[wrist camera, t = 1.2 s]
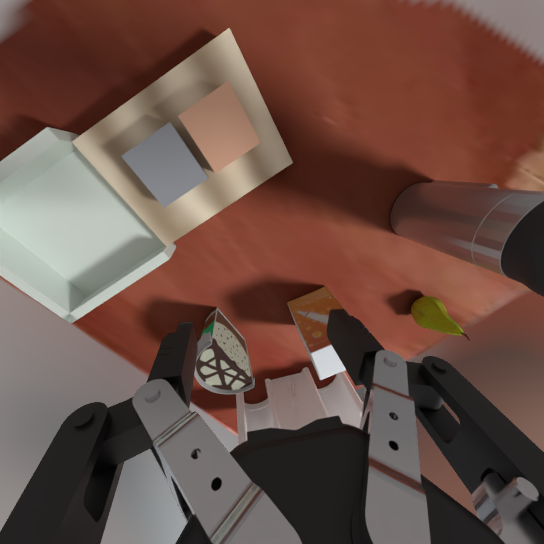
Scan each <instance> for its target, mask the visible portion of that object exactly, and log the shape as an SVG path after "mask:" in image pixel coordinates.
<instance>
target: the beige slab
mask: <svg viewBox="0 0 544 544" xmlns="http://www.w3.org/2000/svg"><path fill="white" fill-rule="evenodd" d="M227 81H229V82H230V84H231V86H232V88H233V90H234V92H235V94H236V96H237V97H238V99H239V101H240V103H241V105H242V107H243V109H244V111H245V113H246V115H247V117H248V119H249V121H250V123H251V124H252V126H253V128H254V130H255V132H256V134H257V136H258V138H259V140H260V142H261V143H259V144H258V145H257V146H255V147H254V148H252V149H251V150H249V151H248V152H246V153H245V154H243V155H242V156H240V157H239V158H237V159H236V160H234V161H233V162H231V163H230V164H228V165H227V166H225V167H224V168H223V169H221V170H220V171H218V172H217V173H215V172H214V170H213V169H212V167H211V166H210V164H209V163H208V161H207V160H206V158H205V157H204V155H203V153H202V152H201V150H200V149H199V147H198V146H197V144H196V143H195V141H194V140H193V138H192V137H191V135H190V134H189V132H188V131H187V129H186V128H185V126H184V124H183V123H182V121H181V120H180V118H179V117H178V116H179V115H180V114H182V113H183V112H185V111H186V110H187V109H189V108H190V107H192V106H193V105H194V104H196V103H197V102H199V101H200V100H202V99H203V98H204V97H206V96H207V95H209V94H210V93H212V92H213V91H214V90H216V89H217V88H219V87H220V86H221V85H223V84H224V83H226V82H227ZM169 122H170V123H172V124H173V125H174V126H175V127H176V128H177V130H178V131H179V133H180V134H181V136H182V137H183V139H184V140H185V142H186V143H187V145H188V146H189V148H190V149H191V151H192V152H193V154H194V155H195V157H196V158H197V160H198V161H199V163H200V164H201V166H202V167H203V168H204V170H205V171H206V173H207V174H208V176H209V178H208V179H206V180H205V181H203V182H202V183H200V184H199V185H197V186H196V187H194V188H193V189H191V190H190V191H189V192H187V193H186V194H184V195H183V196H181V197H180V198H178V199H177V200H175V201H174V202H172V203H171V204H169V205H168V206H166V207H165V208H164V207H163V206H162V205H161V204H160V202H159V201H158V200H157V199H156V198H155V196H154V195H153V194H152V193H151V192H150V190H149V189H148V188H147V187H146V186H145V184H144V183H143V182H142V181H141V180H140V178H139V177H138V176H137V175H136V174H135V172H134V171H133V170H132V169H131V168H130V166H129V165H128V164H127V163H126V161H125V160H124V159H123V158H122V157H121V156H122V155H124V154H125V153H126V152H128V151H129V150H131V149H132V148H133V147H135V146H136V145H138V144H139V143H141V142H142V141H143V140H145V139H146V138H148V137H149V136H151V135H152V134H153V133H155V132H156V131H158V130H159V129H160V128H162V127H163V126H165V125H166V124H168V123H169ZM72 143H73V144H74V145H75V146H76V147H77V149H78V150H79V151H80V152H81V153H82V154H83V155H84V156H85V157H86V158H87V160H88V161H89V162H90V163H91V164H92V165H93V166H94V167H95V168H96V169H97V171H98V172H99V173H100V174H101V175H102V176H103V177H104V178H105V179H106V180H107V182H108V183H109V184H110V185H111V186H112V187H113V188H114V189H115V190H116V191H117V193H118V194H119V195H120V196H121V197H122V198H123V199H124V200H125V201H126V202H127V204H128V205H129V206H130V207H131V208H132V209H133V210H134V211H135V212H136V213H137V215H138V216H139V217H140V218H141V219H142V220H143V221H144V222H145V223H146V224H147V226H148V227H149V228H150V229H151V230H152V231H153V232H154V233H155V234H156V235H157V237H158V238H159V239H160V240H161V241H162V242H163V243H164V244H165V245H166V246H168V245H170V244H171V243H173V242H174V241H176V240H177V239H179V238H180V237H182V236H183V235H185V234H186V233H188V232H189V231H191V230H192V229H194V228H195V227H197V226H198V225H200V224H201V223H203V222H204V221H206V220H207V219H209V218H210V217H212V216H213V215H215V214H216V213H218V212H219V211H221V210H222V209H224V208H225V207H227V206H229V205H230V204H232V203H233V202H235V201H236V200H238V199H239V198H241V197H242V196H244V195H245V194H247V193H248V192H250V191H251V190H253V189H254V188H256V187H257V186H259V185H260V184H262V183H263V182H265V181H266V180H268V179H269V178H271V177H272V176H274V175H275V174H277V173H278V172H280V171H281V170H283V169H284V168H286V167H287V166H289V165H290V164H292V163H293V162H292V159H291V157H290V155H289V153H288V151H287V149H286V147H285V145H284V142H283V140H282V138H281V136H280V134H279V132H278V130H277V128H276V126H275V123H274V121H273V119H272V117H271V115H270V113H269V111H268V109H267V106H266V104H265V102H264V100H263V98H262V96H261V94H260V92H259V90H258V87H257V85H256V83H255V81H254V79H253V77H252V75H251V73H250V70H249V68H248V66H247V64H246V62H245V60H244V58H243V56H242V54H241V51H240V49H239V47H238V45H237V43H236V41H235V39H234V37H233V34H232V32H231V30H230V28H228V29H227V30H226V31H224V32H223V33H221V34H220V35H219V36H217V37H216V38H214V39H213V40H212V41H210V42H209V43H208V44H206V45H205V46H203V47H202V48H201V49H199V50H198V51H196V52H195V53H194V54H192V55H191V56H190V57H188V58H187V59H185V60H184V61H183V62H181V63H180V64H178V65H177V66H176V67H174V68H173V69H172V70H170V71H169V72H167V73H166V74H165V75H163V76H162V77H160V78H159V79H158V80H156V81H155V82H154V83H152V84H151V85H149V86H148V87H147V88H145V89H144V90H142V91H141V92H140V93H138V94H137V95H136V96H134V97H133V98H131V99H130V100H129V101H127V102H126V103H125V104H123V105H122V106H120V107H119V108H118V109H116V110H115V111H113V112H112V113H111V114H109V115H108V116H107V117H105V118H104V119H102V120H101V121H100V122H98V123H97V124H95V125H94V126H93V127H91V128H90V129H89V130H87V131H86V132H84V133H83V134H82V135H80V136H79V137H77V138H76V139H75V140H73V141H72Z"/></svg>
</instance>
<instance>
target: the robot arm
mask: <svg viewBox="0 0 544 544" xmlns="http://www.w3.org/2000/svg"><path fill="white" fill-rule="evenodd" d="M390 222H391V226H392V229H393V230H394V232H395V233H396V234H398V235H399V236H402V237H405V238H407V239H410V240H412V241H415V242H417V243H420V244H422V245H425V246H428V247H430V248H433V249H435V250H438V251H440V252H443V253H446V254H448V255H451V256H453V257H456V258H459V259H461V260H464V261H466V262H469V263H471V264H474V265H477V266H479V267H482V268H485V269H487V270H490V271H492V272H495V273H497V274H500V275H503V276H505V277H508V278H510V279H513V280H516V281H518V282H520V283H523V284H524V285H526V286H527V287H528V288H529V289H531V290H532V291H534V292H536V293H537V294H539V295H541V296H543V297H544V192H541V191H527V190H514V189H501V188H498V186H497V185H495V184H486V183H470V182H454V181H438V180H434V181H432V182H430V183H424V182H422V183H416V184H413V185H411V186H410V187H408V188H406V189H405V190H404V191H403V192H402V193H401V194H400V195H399V197H398V198H397V199H396V201H395V203H394V205H393V207H392V211H391V215H390ZM327 337H328V340H329V341H330V343H331V345H332V347H333V348H334V350H335V352H336V353H337V355H338V357H339V358H340V360H341V362H342V364H343V365H344V367H345V369H346V370H347V372H348V374H349V375H350V377H351V379H352V380H353V382H354V384H355V386H357V385H363V384H364V386H365V387H366V389H365V393H364V400H363V407H362V415H361V422H360V427H359V428H357V427H355V426H352V425H349V424H344V423H342V421H341V419H340V417H339V415H338V416H332V417H327V418H321V419H317V420H315V421H313V422H311V423H309V424H307V425H305V426H303V427H302V428H300V429H297V430H290V429H279V428H266V429H260V430H255V431H249V432H247V441H245V442H243V443H241V444H240V445H238V446H237V447H236V448H234V449H233V450H232V451H231V452H230V453H229V452H228V451H227V449H226V448H225V447H224V445H223V444H222V443H221V442H220V441H219V439H218V438H217V437H216V435H215V434H214V433H213V432H212V430H211V429H210V428H209V427H208V425H207V424H206V423H205V422H204V420H203V419H202V418H201V416H200V415H199V414H198V413H197V412H193V413H192V412H191V411H190V410H189V405H190V399H191V392H192V386H193V379H194V373H195V366H196V360H197V352H198V345H197V337H196V331H195V324H194V322H182V323H179V324H178V328H177V331H176V333H169V334H168V335H167V336H166V337H165V338H164V339H163V340H162V342H161V345H160V348H159V350H158V353H157V357H156V359H155V361H154V364H153V367H152V370H151V372H150V375H149V378H148V381H147V383H145V384H144V385H142V386H141V387H140V388H139V389H138V390H137V391H136V393H135V394H134V396H133V397H132V398H130V399H128V400H126V401H124V402H121V403H119V404H116V405H114V406H111V407H109V408H107V406H106V405H105V404H104V403H101V402H95V403H90V404H87V405H84V406H82V407H80V408H79V409H77V410H76V411H74V412H73V413H72V414H71V415H70V416H68V417H67V419H66V420H65V421H64V422H63V424H62V425H61V427H60V429H59V431H58V432H57V434H56V436H55V437H54V439H53V441H52V443H51V445H50V446H49V448H48V450H47V452H46V453H45V455H44V457H43V458H42V460H41V462H40V464H39V465H38V467H37V469H36V471H35V472H34V474H33V476H32V478H31V479H30V481H29V483H28V484H27V486H26V488H25V490H24V491H23V493H22V495H21V497H20V499H19V500H18V502H17V504H16V506H15V507H14V509H13V511H12V512H11V514H10V516H9V518H8V519H7V521H6V523H5V525H4V527H3V528H2V530H1V532H0V544H100V543H101V539H102V536H103V532H104V529H105V526H106V522H107V519H108V515H109V512H110V508H111V505H112V501H113V498H114V495H115V491H116V488H117V485H118V481H119V478H120V474H121V471H122V467H123V464H124V461H126V460H128V459H130V458H132V457H134V456H136V455H138V454H140V453H142V452H144V451H146V450H148V449H150V451H151V452H152V454H153V456H154V458H155V460H156V462H157V464H158V466H159V468H160V470H161V472H162V474H163V476H164V478H165V479H166V481H167V483H168V485H169V487H170V489H171V492H172V494H173V496H174V499H175V501H176V503H177V505H178V507H179V508H180V511H181V513H182V514H183V516H184V518H185V520H186V522H187V525H186V526H185V528H184V530H183V531H182V533H181V535H180V537H179V538H178V540H177V542H176V544H544V452H543V451H542V450H541V449H539V448H538V447H537V446H536V445H535V444H534V443H533V442H532V441H531V440H530V439H529V438H528V437H527V436H526V435H525V434H524V433H523V432H521V431H520V430H519V429H518V428H517V427H516V426H515V425H514V424H513V423H512V422H511V421H510V420H509V419H508V418H507V417H506V416H505V415H503V414H502V413H501V412H500V411H499V410H498V409H497V408H496V407H495V406H494V405H493V404H492V403H491V402H490V401H489V400H488V399H486V398H485V397H484V396H483V395H482V394H481V393H480V392H479V391H478V390H477V389H476V388H475V387H474V386H473V385H472V384H471V383H470V382H468V381H467V379H465V378H464V377H463V376H462V375H461V374H460V373H459V372H458V371H457V370H456V369H455V368H454V367H453V366H452V365H450V364H449V363H448V362H446V361H444V360H442V359H440V358H437V357H433V356H427V357H425V358H424V359H423V360H422V363H414V362H407V361H405V360H404V359H403V358H402V357H401V356H400V355H398V354H396V353H394V352H392V351H389V350H385V349H384V348H383V347H382V346H381V345H380V343H379V342H378V341H377V340H376V339H375V338H374V336H373V335H372V334H371V333H369V331H368V330H367V328H365V326H364V325H363V324H362V323H361V321H359V320H358V319H356V318H355V317H353V316H349V314H348V313H347V312H346V311H345V310H344V309H332V310H330V312H329V318H328V324H327ZM444 401H445V402H446V403H447V404H448V406H449V407H450V408H451V409H452V410H453V411H454V413H455V414H456V415H457V416H458V418H459V420H460V424H459V423H458V422H457V421H456V420H455V419H454V417H453V416H452V415H451V414H450V413H449V412H448V410H447V409H446V408H445V407H444V405H443V402H444ZM415 415H416V416H417V418H418V419H419V420H420V422H421V423H422V425H423V426H424V428H425V429H426V430H427V432H428V433H429V435H430V436H431V437H432V439H433V440H434V442H435V443H436V445H437V446H438V448H439V449H440V450H441V452H442V453H443V455H444V456H445V458H446V459H447V460H448V462H449V463H450V465H451V466H452V467H453V469H454V470H455V472H456V473H457V475H458V476H459V478H460V479H461V480H462V482H463V483H464V485H465V486H466V487H467V489H468V490H469V492H470V493H471V495H472V503H473V506H474V508H475V510H476V512H477V514H478V515H477V517H476V516H475V515H474V514H472V513H471V512H470V511H468V510H467V509H466V508H465V507H463V506H462V505H461V504H459V503H458V502H457V501H455V500H454V499H453V498H451V497H450V496H449V495H447V494H446V493H445V492H444V491H442V490H441V489H440V488H438V487H437V486H436V485H435V484H433V483H432V482H431V481H429V480H428V479H427V478H425V477H424V476H423V475H421V474H420V466H419V465H420V464H419V453H418V441H417V430H416V418H415ZM460 425H461V426H460Z"/></svg>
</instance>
